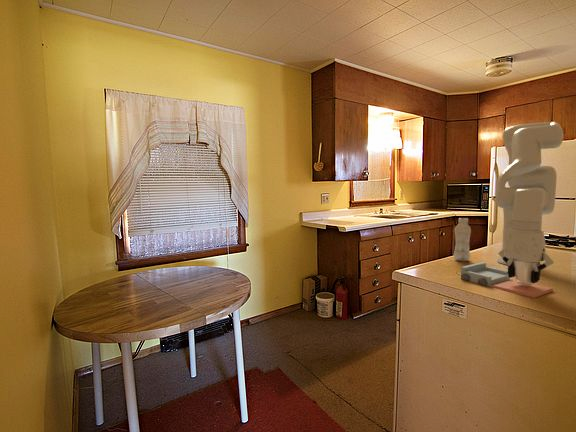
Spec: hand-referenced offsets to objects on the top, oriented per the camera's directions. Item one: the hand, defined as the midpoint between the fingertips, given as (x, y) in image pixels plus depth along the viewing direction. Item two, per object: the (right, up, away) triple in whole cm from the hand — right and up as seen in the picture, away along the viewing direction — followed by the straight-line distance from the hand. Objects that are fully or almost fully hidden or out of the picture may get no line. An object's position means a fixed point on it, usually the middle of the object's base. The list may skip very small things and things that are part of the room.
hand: (522, 279), depth 99 cm
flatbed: (-6, -3, +11) cm, 13 cm away
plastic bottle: (+2, 0, +38) cm, 38 cm away
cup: (0, -2, 0) cm, 2 cm away
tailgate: (0, -4, 0) cm, 4 cm away
